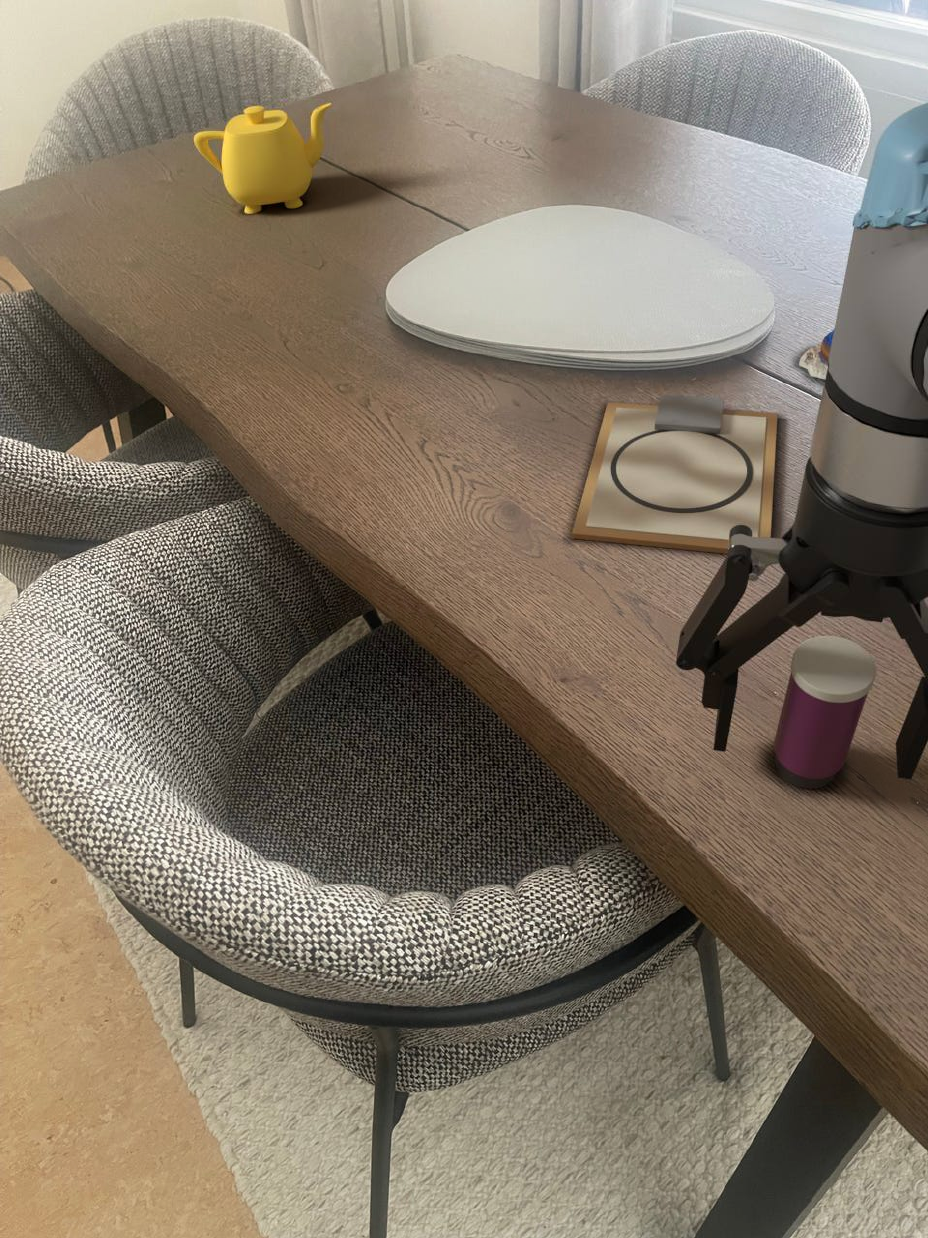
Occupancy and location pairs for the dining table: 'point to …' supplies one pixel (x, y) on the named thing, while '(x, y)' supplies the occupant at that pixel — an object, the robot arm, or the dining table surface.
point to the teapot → (265, 157)
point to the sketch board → (679, 475)
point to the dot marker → (821, 709)
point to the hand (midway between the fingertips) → (810, 747)
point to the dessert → (818, 358)
